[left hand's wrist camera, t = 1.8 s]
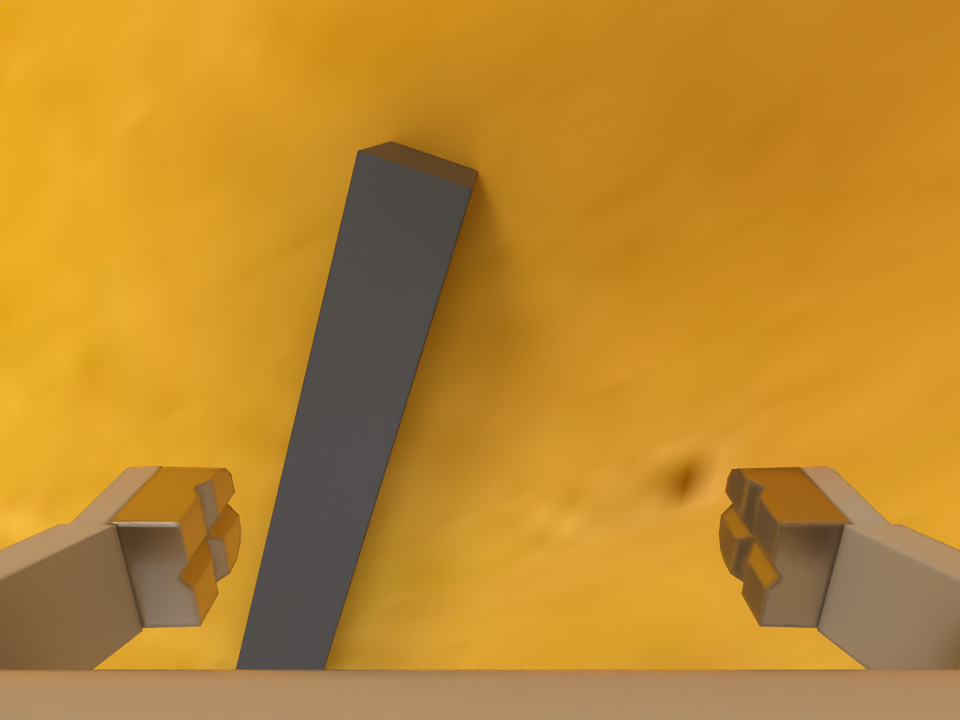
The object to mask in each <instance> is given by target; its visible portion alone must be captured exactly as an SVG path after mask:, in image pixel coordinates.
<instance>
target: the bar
mask: <svg viewBox="0 0 960 720" xmlns="http://www.w3.org/2000/svg"><path fill="white" fill-rule="evenodd" d="M477 174H478V171H477V170H474V169H471V168H468V167H465V166H462V165H459V164H456V163H453V162H450V161H447V160H444V159H441V158H439V157H436V156H433V155H430V154H427V153H424V152H421V151H418V150H415V149H412V148H409V147H406V146H403V145H400V144H397V143H394V142H387V143H383V144H380V145H376V146H373V147H369V148H366V149H362V150H359V151H358V153H357V157H356V161H355V165H354V170H353V174H352V178H351V182H350V187H349V191H348V195H347V199H346V204H345V208H344V212H343V216H342V221H341V225H340V229H339V233H338V238H337V242H336V246H335V250H334V255H333V259H332V263H331V267H330V272H329V276H328V280H327V284H326V289H325V293H324V297H323V301H322V306H321V310H320V314H319V318H318V323H317V327H316V331H315V335H314V340H313V344H312V348H311V352H310V357H309V361H308V365H307V370H306V374H305V378H304V382H303V387H302V391H301V395H300V399H299V404H298V408H297V412H296V416H295V421H294V425H293V429H292V433H291V438H290V442H289V446H288V450H287V455H286V459H285V463H284V467H283V472H282V476H281V480H280V484H279V489H278V493H277V497H276V501H275V506H274V510H273V514H272V518H271V523H270V527H269V531H268V535H267V540H266V544H265V548H264V552H263V557H262V561H261V565H260V569H259V574H258V578H257V582H256V586H255V591H254V595H253V599H252V604H251V608H250V612H249V616H248V621H247V625H246V629H245V633H244V638H243V642H242V646H241V650H240V655H239V659H238V663H237V667H236V670H324V668H325V664H326V661H327V658H328V655H329V651H330V648H331V645H332V642H333V639H334V635H335V632H336V629H337V626H338V622H339V619H340V616H341V613H342V610H343V606H344V603H345V600H346V597H347V593H348V590H349V587H350V584H351V580H352V577H353V574H354V571H355V568H356V564H357V561H358V558H359V555H360V551H361V548H362V545H363V542H364V539H365V535H366V532H367V529H368V526H369V522H370V519H371V516H372V513H373V509H374V506H375V503H376V500H377V497H378V493H379V490H380V487H381V484H382V480H383V477H384V474H385V471H386V468H387V464H388V461H389V458H390V455H391V451H392V448H393V445H394V442H395V439H396V435H397V432H398V429H399V426H400V422H401V419H402V416H403V413H404V409H405V406H406V403H407V400H408V397H409V393H410V390H411V387H412V384H413V380H414V377H415V374H416V371H417V368H418V364H419V361H420V358H421V355H422V351H423V348H424V345H425V342H426V338H427V335H428V332H429V329H430V326H431V322H432V319H433V316H434V313H435V309H436V306H437V303H438V300H439V297H440V293H441V290H442V287H443V284H444V280H445V277H446V274H447V271H448V267H449V264H450V261H451V258H452V255H453V251H454V248H455V245H456V242H457V238H458V235H459V232H460V229H461V226H462V222H463V219H464V216H465V213H466V209H467V206H468V203H469V200H470V196H471V193H472V190H473V187H474V184H475V180H476V177H477Z"/></svg>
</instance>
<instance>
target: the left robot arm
mask: <svg viewBox="0 0 960 720" xmlns="http://www.w3.org/2000/svg"><path fill="white" fill-rule="evenodd" d="M234 492H235V490H234V485H233V481H232V476H231V473H230V472H229V471H228V470H227V469H226V468H199V467H162V466H153V467H132V468H127V469H126V470H125V471H124V472H123V473H122V474H121V475H120V476H119V477H118V478H117V479H116V480H115V481H114V482H113V483H112V484H111V485H109V486H108V487H107V488H106V489H105V490H104V491H103V492H102V493H101V494H100V495H99V496H98V497H97V498H96V499H95V500H94V501H93V502H92V503H91V504H90V505H89V506H88V507H87V508H86V509H85V510H84V511H83V512H82V513H81V514H80V515H79V516H78V517H77V518H76V519H74V520H73V521H72V522H71V523H70V524H69V525H57V526H55V527H52V528H50V529H48V530H45V531H43V532H41V533H39V534H36V535H34V536H32V537H29V538H27V539H25V540H23V541H20V542H18V543H16V544H13V545H11V546H9V547H6V548H4V549H2V550H0V720H960V550H958V549H956V548H953V547H951V546H949V545H947V544H944V543H942V542H940V541H937V540H935V539H933V538H931V537H928V536H926V535H924V534H921V533H919V532H917V531H915V530H912V529H910V528H908V527H905V526H903V525H891V524H890V523H889V522H888V521H887V520H886V519H885V518H883V517H882V516H881V515H880V514H879V513H878V512H877V511H876V510H875V509H874V508H873V507H872V506H871V505H870V504H869V503H868V502H867V501H866V500H865V499H864V498H863V497H862V496H861V495H860V494H859V493H858V492H857V491H856V490H855V489H854V488H853V487H852V486H851V485H850V484H849V483H848V482H847V481H846V480H845V479H843V478H842V477H841V476H840V475H839V474H838V473H837V472H836V471H835V470H834V469H832V468H829V467H826V466H816V467H786V468H745V469H732V470H731V472H730V474H729V476H728V479H727V484H726V490H725V492H726V494H727V495H728V497H729V498H730V500H731V501H732V505H731V506H730V507H729V508H728V509H727V510H726V511H725V512H724V513H723V514H722V515H721V520H720V528H719V539H720V550H721V553H722V556H723V560H724V562H725V564H726V566H727V568H728V570H729V572H730V574H732V575H733V576H735V577H737V578H738V579H740V580H741V581H743V582H744V583H743V589H742V596H743V597H744V599H745V601H746V603H747V604H748V606H749V608H750V610H751V612H752V613H753V615H754V617H755V619H756V620H757V622H758V624H759V626H768V627H804V628H818V630H817V631H819V632H820V633H821V634H823V635H824V636H825V637H826V638H828V639H829V640H830V641H832V642H833V643H834V644H835V645H837V646H838V647H839V648H841V649H842V650H843V651H844V652H846V653H847V654H848V655H850V656H851V657H852V658H853V659H855V660H856V661H857V662H859V663H860V664H861V665H862V666H864V667H865V668H866V669H868V670H93V669H94V668H95V667H97V666H98V665H99V664H100V663H102V662H103V661H104V660H106V659H107V658H108V657H109V656H111V655H112V654H113V653H115V652H116V651H117V650H118V649H120V648H121V647H122V646H124V645H125V644H126V643H127V642H129V641H130V640H131V639H133V638H134V637H135V636H136V635H138V634H139V633H140V632H142V628H155V627H190V626H201V624H202V622H203V621H204V619H205V617H206V615H207V613H208V612H209V610H210V608H211V606H212V604H213V603H214V601H215V599H216V597H217V596H218V589H217V583H216V582H217V581H219V580H220V579H222V578H223V577H225V576H227V575H228V574H230V572H231V570H232V568H233V566H234V564H235V562H236V560H237V556H238V552H239V548H240V543H241V526H240V520H239V515H238V514H237V513H236V512H235V511H234V510H233V509H232V508H231V507H230V506H229V505H228V504H227V503H228V501H229V500H230V498H231V497H232V495H233V494H234Z"/></svg>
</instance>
